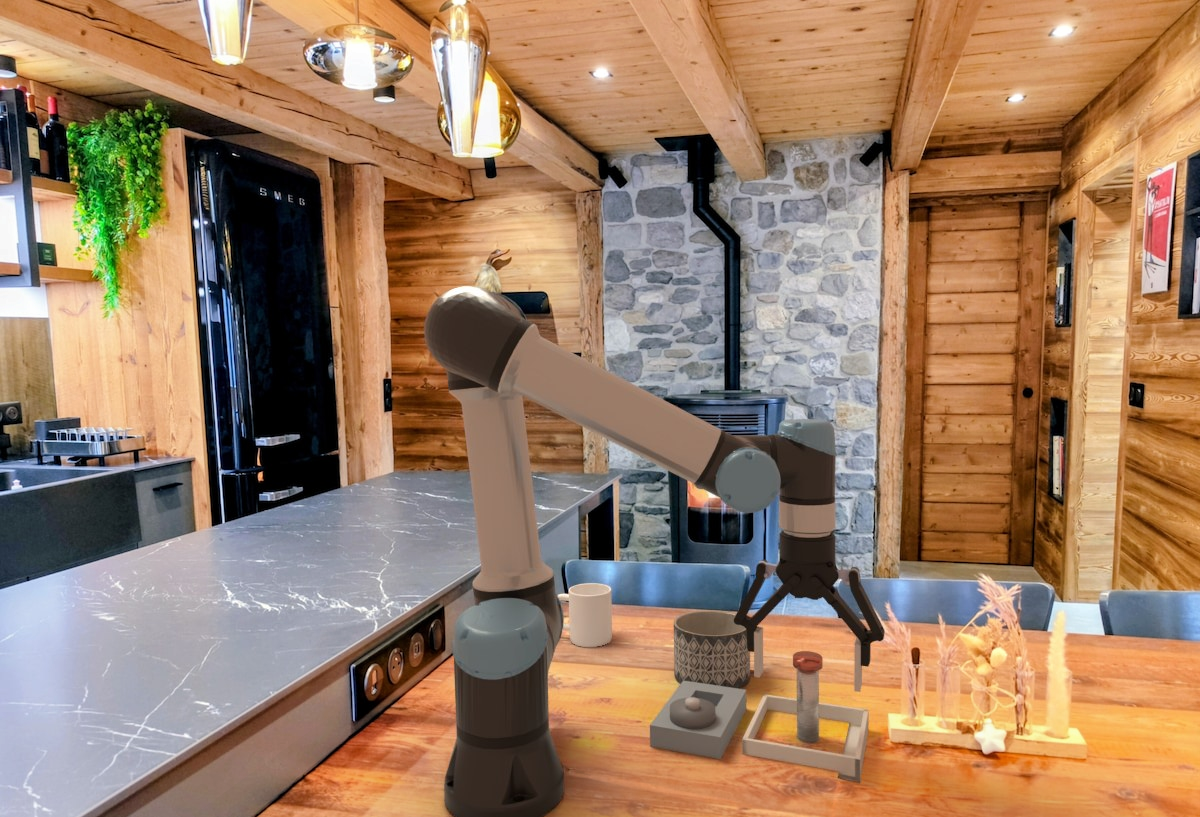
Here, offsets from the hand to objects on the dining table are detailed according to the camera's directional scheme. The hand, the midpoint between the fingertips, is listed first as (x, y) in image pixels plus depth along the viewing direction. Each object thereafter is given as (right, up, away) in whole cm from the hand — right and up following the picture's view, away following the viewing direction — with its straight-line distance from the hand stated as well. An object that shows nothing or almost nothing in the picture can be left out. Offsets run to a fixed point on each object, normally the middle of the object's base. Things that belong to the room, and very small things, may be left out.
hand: (807, 680), depth 110 cm
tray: (0, -9, +1) cm, 9 cm away
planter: (-10, -8, +22) cm, 26 cm away
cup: (-33, -7, +44) cm, 55 cm away
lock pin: (0, -9, +1) cm, 9 cm away
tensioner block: (-14, -9, +5) cm, 18 cm away
